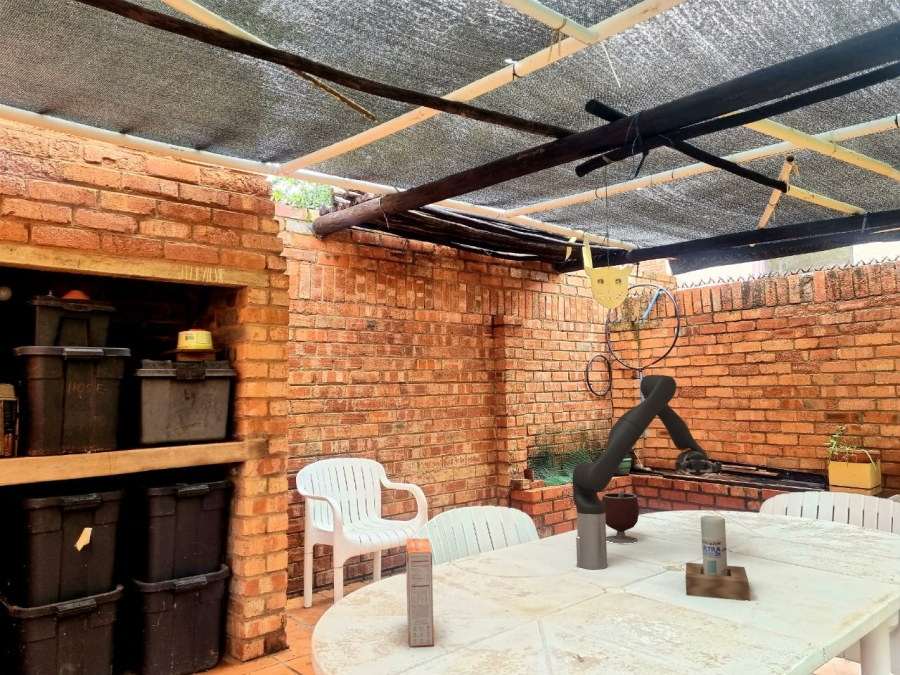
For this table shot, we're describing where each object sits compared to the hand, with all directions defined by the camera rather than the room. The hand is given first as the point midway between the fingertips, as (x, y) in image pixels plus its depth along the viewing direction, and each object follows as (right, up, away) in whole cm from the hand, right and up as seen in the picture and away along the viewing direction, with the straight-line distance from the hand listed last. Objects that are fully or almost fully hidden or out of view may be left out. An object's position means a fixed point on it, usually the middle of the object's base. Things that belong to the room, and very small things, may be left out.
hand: (699, 468), depth 203 cm
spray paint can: (-3, -30, -21) cm, 37 cm away
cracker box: (-86, -28, -53) cm, 105 cm away
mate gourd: (-14, -36, +42) cm, 57 cm away
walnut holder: (-3, -30, -21) cm, 37 cm away
